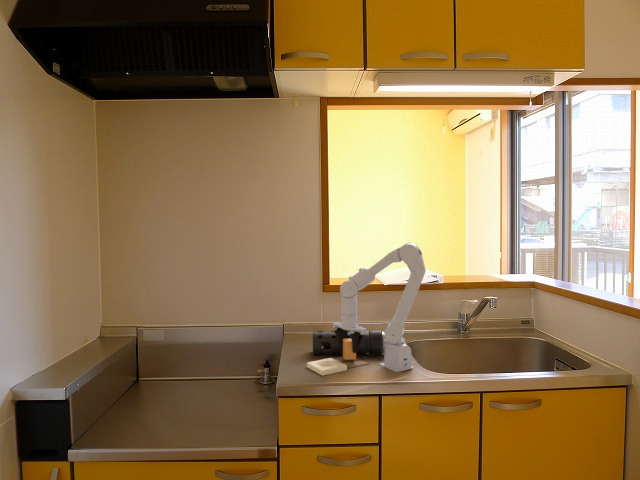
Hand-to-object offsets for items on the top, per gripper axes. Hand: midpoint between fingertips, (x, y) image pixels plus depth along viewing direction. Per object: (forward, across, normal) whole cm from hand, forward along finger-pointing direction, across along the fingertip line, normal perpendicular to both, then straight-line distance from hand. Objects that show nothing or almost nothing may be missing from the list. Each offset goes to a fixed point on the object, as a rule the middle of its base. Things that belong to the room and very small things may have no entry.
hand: (349, 350), depth 165 cm
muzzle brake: (0, +11, -12) cm, 16 cm away
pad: (+4, 0, 0) cm, 4 cm away
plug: (+3, 0, 0) cm, 3 cm away
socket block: (+4, 0, +11) cm, 12 cm away
